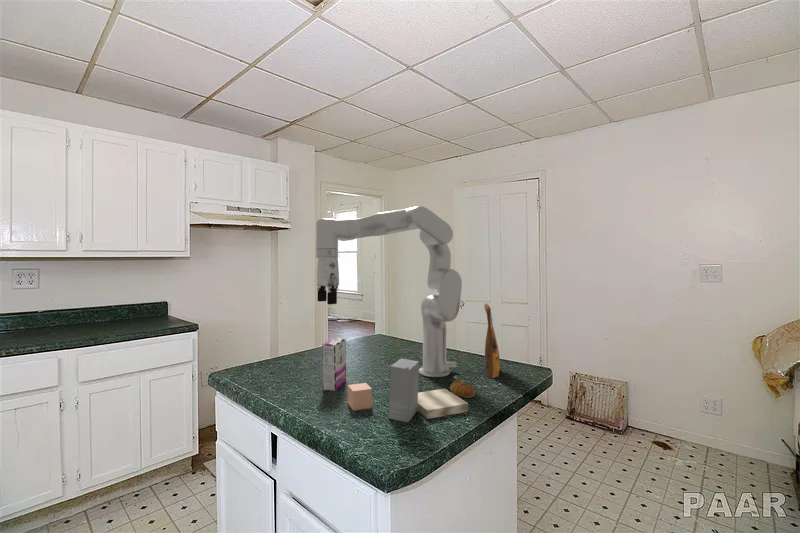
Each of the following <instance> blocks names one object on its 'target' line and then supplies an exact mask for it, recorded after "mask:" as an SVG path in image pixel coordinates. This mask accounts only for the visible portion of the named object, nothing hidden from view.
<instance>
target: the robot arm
mask: <svg viewBox="0 0 800 533" xmlns="http://www.w3.org/2000/svg"><path fill="white" fill-rule="evenodd" d="M315 224H316V225H315V226H316V228H315V229H316V232H315V235H316V237H315V238H316V241H315V242H316V244H315V245H316V247H315V250H316V251H315V253H316V254H315V256H316V257H315V258H316V259H317V266H316V268H317V269H316V281H317V282H316V284H317V288H316V289H317V302H326V303H327V305H336V304H337V303H338V302H337V301H338V287H339V285H340V274H339V273H340V271H339V261H338V259H339V241H342V242H346V241H354V240H356V239H363V238H368V237H379V236H386V235H392V234H398V233H401V232H402V233H403V232H408V231H414V230H419V238H420V241H421V242H422V243H423V245H424V246H425V247H426V249H427V251H428V253H429V266H428V272H427V273H428V274H427V283H426V284H427V287H428V288H429V290H431V291H432V292H438V294H429V295H428V296H425V297H424V298H423V300H422V302H421V305H420V311H421V318H422V367H419V375H421V376H425V377H428V378H429V377H430V378H443V377H447V376H449V375H450V374H451V370H450V369H451V368H456V367H457V365H458V364H457V362H456V361H447V323H449V322H452V321H454V320H455V319H456V318H457V316H458V314H459V310H460V306H461V305H460V304H461V296H462V288H463V281H462V276H461V275H460V273H459V272H458V271H457V270H455V269H452V268H451V262H452V255H451V251H450V248H449V246H448V244H449V243H450V242H451V241H452V240H453V238H454V231H453V229H452V227H451V225H450V224H449V223H448V222H446V221H445V220H444V219H442V218H441V217H440V216H438V215H437V214H436V213H435V212H433V211H432V210H431V209H429V208H427V207H425V206H424V205H417V206H413V207H408V208H407V207H406V208H403V209H396V210H390V211H383V212H377V213H375V214H372V215H368V216H364V217H360V218H354V219H353V218H345V219H344V218H343V219H334V218H326V217H325V218H318V219H317V221H316V223H315ZM327 290H328V292H327Z"/></svg>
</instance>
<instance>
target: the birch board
mask: <svg viewBox="0 0 800 533" xmlns="http://www.w3.org/2000/svg"><path fill="white" fill-rule="evenodd" d="M417 412H418V413H419V414H420V415H421V416H423V417H424V418H425V419H426V420H429V419H435V418H440V417H441V418H442V417H446V416H451V415H457V414H463V413H467V412H469V402H467V401H465V400H463V399H462V397H460V396H458V395H455V394H454V393H452V392H451V390H450V391H449V390H448V389H447V388H439V389H433V390H426V391H420V392H419V391H418V402H417Z"/></svg>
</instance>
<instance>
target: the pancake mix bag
mask: <svg viewBox="0 0 800 533" xmlns="http://www.w3.org/2000/svg"><path fill="white" fill-rule="evenodd" d="M484 310H485V313H486V318H487V329H486V337H485V344H484V365H485V366H484V367H485V373H486V375H485V376H487V377H488V378H492V379H494V378H498V377H499V375H500V367H501V366H500V365H501V361H500V360H501V358H500V357H501V356H500V352H499V345H498V342H497V338H496V333H495V330H494V326H493V324H494V323H493V316H492V315H493V314H492V311H491V310H492V308H491V307H490V305H489V304H488V303H487V302H486V303H485V304H484Z"/></svg>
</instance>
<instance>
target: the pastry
mask: <svg viewBox="0 0 800 533" xmlns="http://www.w3.org/2000/svg"><path fill="white" fill-rule="evenodd" d="M449 390H450V392H451V393H453V394H454V395H456V396H457V397H459V398H464V399H465V398H467V399H470V398H473V397H475V396H476V391H475V389H474V387H472V386H471V385H470V384H469V383H467V382H465V381H462V380H454V381H452V383H451V384H450V386H449Z"/></svg>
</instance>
